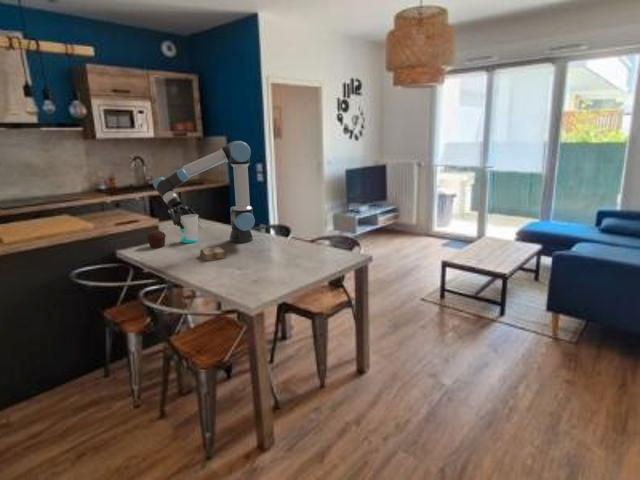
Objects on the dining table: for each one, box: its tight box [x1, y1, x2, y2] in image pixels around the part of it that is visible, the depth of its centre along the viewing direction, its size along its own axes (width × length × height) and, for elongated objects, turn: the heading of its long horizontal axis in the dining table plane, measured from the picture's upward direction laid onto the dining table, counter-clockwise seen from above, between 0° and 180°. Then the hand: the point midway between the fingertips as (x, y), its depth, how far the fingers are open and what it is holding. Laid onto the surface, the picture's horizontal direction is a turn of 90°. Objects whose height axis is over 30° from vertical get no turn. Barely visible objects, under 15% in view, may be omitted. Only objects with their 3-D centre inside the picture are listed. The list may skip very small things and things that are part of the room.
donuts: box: [179, 227, 198, 244], centre depth 271 cm, size 10×10×10 cm
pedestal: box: [199, 246, 227, 262], centre depth 239 cm, size 12×12×4 cm
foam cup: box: [180, 214, 199, 240], centre depth 232 cm, size 10×9×13 cm
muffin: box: [146, 230, 167, 249], centre depth 261 cm, size 12×11×10 cm
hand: (194, 230), depth 231 cm, fingers closed on foam cup, 9 cm apart
